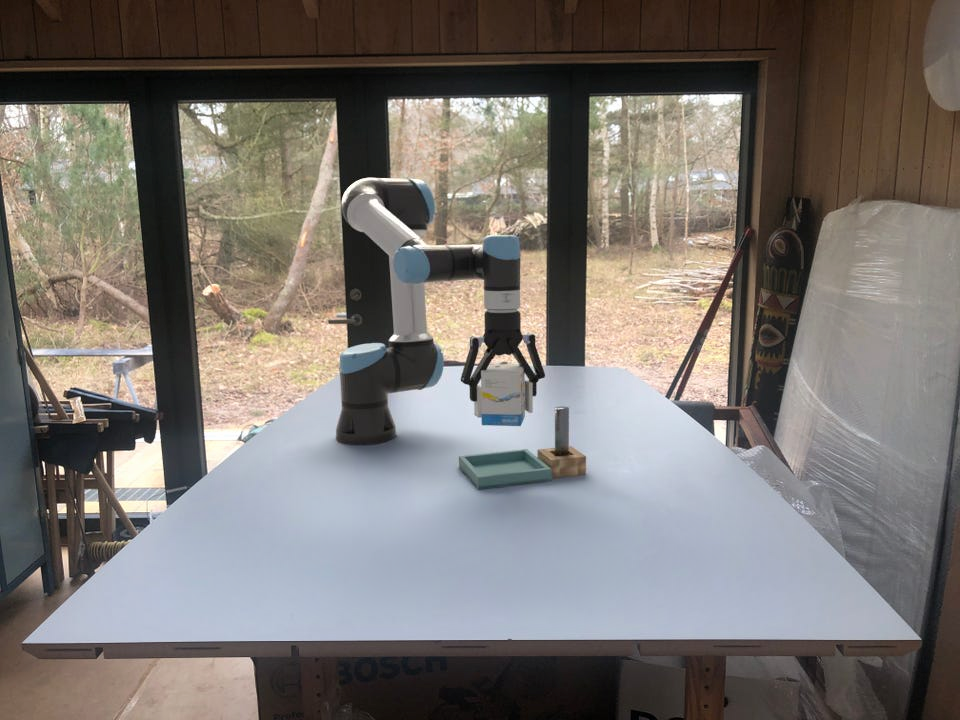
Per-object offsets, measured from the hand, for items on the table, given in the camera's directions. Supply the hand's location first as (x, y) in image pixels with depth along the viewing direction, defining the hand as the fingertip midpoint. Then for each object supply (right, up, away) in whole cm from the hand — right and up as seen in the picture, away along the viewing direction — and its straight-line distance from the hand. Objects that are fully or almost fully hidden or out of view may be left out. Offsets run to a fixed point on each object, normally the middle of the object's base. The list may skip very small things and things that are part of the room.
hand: (503, 413), depth 161 cm
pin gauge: (+13, -13, +4) cm, 19 cm away
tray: (0, -13, +2) cm, 13 cm away
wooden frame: (+13, -13, +4) cm, 18 cm away
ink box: (0, -2, 0) cm, 2 cm away
